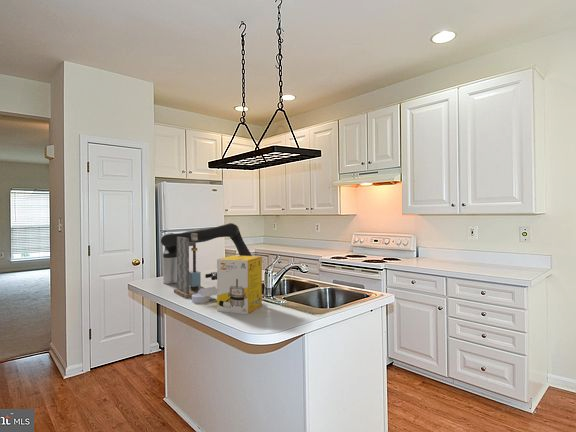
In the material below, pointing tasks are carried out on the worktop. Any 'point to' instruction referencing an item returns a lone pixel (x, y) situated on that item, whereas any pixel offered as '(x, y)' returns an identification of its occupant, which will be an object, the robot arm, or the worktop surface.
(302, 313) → the worktop surface
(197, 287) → the grey rod stand
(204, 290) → the wedge on round base
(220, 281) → the packaging box
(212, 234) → the robot arm
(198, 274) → the sleeve
